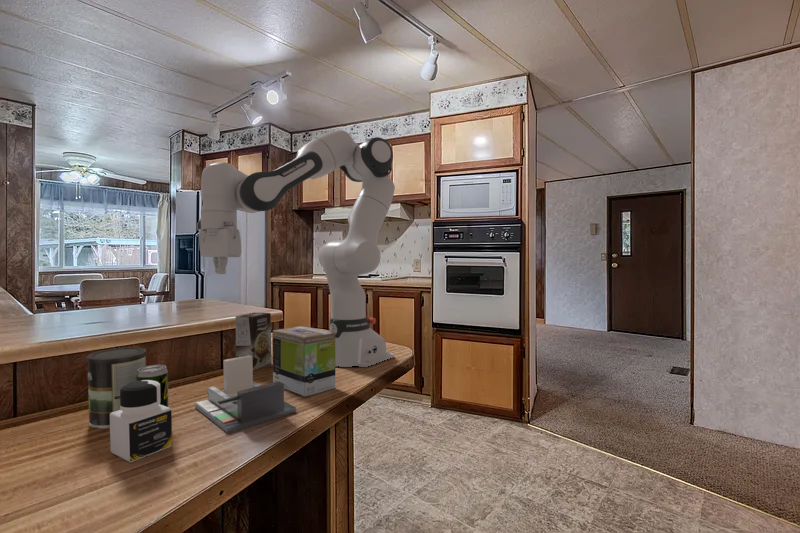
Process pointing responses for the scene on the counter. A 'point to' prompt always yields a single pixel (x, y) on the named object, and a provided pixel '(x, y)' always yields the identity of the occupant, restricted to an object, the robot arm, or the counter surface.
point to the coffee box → (254, 338)
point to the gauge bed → (246, 406)
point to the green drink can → (156, 379)
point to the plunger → (237, 376)
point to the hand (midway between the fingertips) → (220, 273)
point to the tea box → (304, 359)
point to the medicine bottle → (140, 422)
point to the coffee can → (110, 380)
